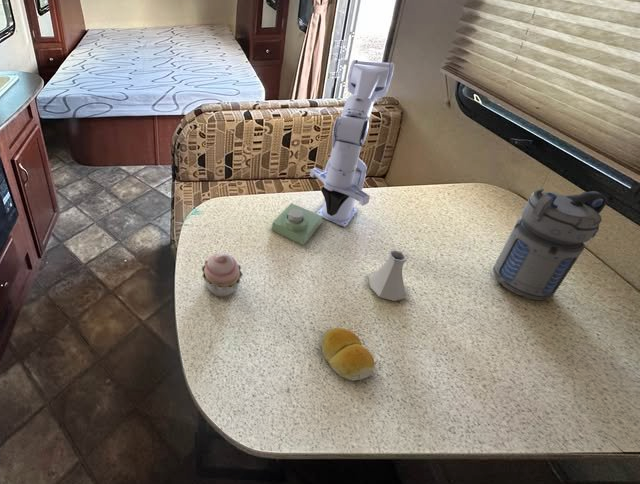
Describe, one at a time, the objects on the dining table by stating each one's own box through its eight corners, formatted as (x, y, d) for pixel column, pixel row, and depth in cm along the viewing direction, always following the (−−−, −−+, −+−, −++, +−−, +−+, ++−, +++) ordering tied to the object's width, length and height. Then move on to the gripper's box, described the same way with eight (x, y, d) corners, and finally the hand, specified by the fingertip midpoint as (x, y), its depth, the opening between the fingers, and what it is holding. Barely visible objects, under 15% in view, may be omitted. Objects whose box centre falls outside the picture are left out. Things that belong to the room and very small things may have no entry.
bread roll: (347, 330, 74) (351, 317, 73) (380, 375, 67) (385, 361, 65) (310, 340, 73) (313, 327, 71) (340, 387, 65) (344, 373, 63)
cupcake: (198, 299, 82) (198, 267, 78) (203, 267, 90) (204, 236, 86) (240, 307, 80) (243, 274, 75) (242, 273, 88) (245, 242, 83)
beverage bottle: (575, 299, 78) (642, 205, 67) (517, 306, 77) (574, 212, 66) (529, 263, 87) (580, 174, 76) (476, 268, 86) (520, 180, 75)
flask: (396, 276, 86) (407, 243, 81) (411, 302, 79) (425, 269, 75) (363, 274, 86) (372, 242, 82) (376, 301, 80) (387, 268, 75)
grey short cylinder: (291, 212, 101) (292, 206, 100) (304, 218, 98) (305, 212, 97) (285, 219, 98) (286, 213, 97) (298, 225, 96) (299, 219, 95)
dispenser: (290, 210, 108) (292, 197, 106) (320, 223, 102) (323, 210, 100) (271, 229, 101) (273, 217, 99) (303, 245, 95) (305, 232, 93)
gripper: (304, 157, 89) (297, 203, 95) (360, 185, 77) (347, 236, 83) (324, 149, 92) (315, 194, 98) (380, 176, 80) (367, 225, 86)
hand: (331, 213), depth 91 cm, fingers closed
